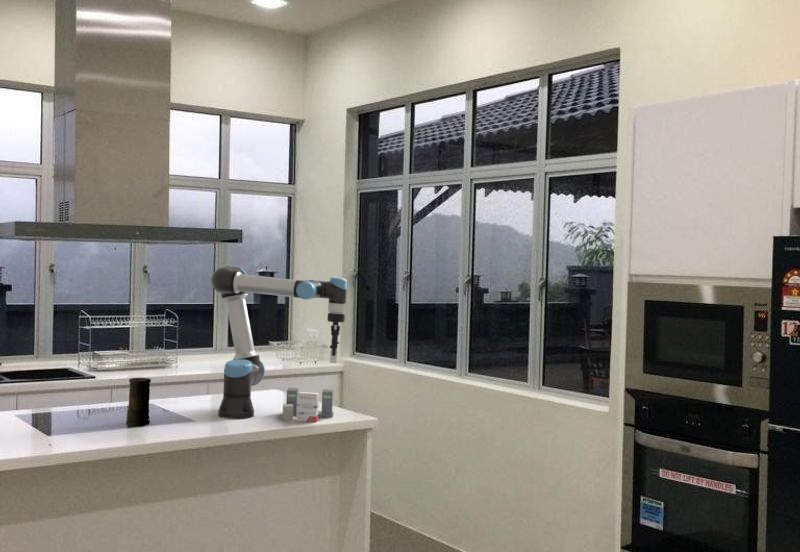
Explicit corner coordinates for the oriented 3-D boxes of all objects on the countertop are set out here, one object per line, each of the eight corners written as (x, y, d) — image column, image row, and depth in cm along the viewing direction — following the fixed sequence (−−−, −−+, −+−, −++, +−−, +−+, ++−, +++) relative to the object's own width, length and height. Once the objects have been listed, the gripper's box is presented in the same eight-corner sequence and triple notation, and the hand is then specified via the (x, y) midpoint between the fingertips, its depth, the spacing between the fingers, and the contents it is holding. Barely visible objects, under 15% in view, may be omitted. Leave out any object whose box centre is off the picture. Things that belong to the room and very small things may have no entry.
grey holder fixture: (284, 415, 347) (285, 390, 346) (286, 412, 355) (287, 387, 354) (332, 417, 347) (333, 392, 347) (333, 414, 355) (334, 389, 355)
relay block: (283, 420, 337) (284, 406, 337) (282, 417, 343) (283, 403, 343) (292, 420, 338) (293, 406, 338) (291, 417, 344) (292, 403, 344)
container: (125, 421, 320) (127, 377, 320) (149, 421, 323) (151, 377, 323) (126, 426, 312) (128, 381, 311) (150, 425, 315) (152, 380, 314)
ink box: (318, 419, 342) (319, 392, 341) (316, 422, 337) (317, 394, 336) (298, 418, 342) (299, 391, 342) (295, 420, 337) (297, 393, 337)
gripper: (345, 315, 337) (341, 365, 337) (344, 311, 361) (341, 357, 362) (327, 314, 336) (324, 364, 337) (328, 310, 361) (325, 356, 361)
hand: (333, 360), depth 349 cm, fingers open, 13 cm apart
